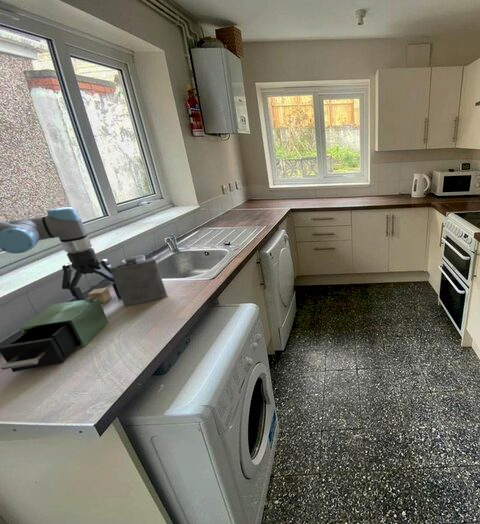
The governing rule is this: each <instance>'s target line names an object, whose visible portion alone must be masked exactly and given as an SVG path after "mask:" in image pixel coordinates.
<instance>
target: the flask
mask: <svg viewBox="0 0 480 524" xmlns="http://www.w3.org/2000/svg"><path fill="white" fill-rule="evenodd" d="M125 261H126V262H127V263H123V262H122V263H119V264H113V265H112V266H111V267H109V269H110V272H111V274H112V277H113V279H114V282H115V284H116V286H117V289H118V291H119V294H120V296H121V299H120V300H121V301H122V303H123V306H124V307H130V306H135V305H140V304H145V303H150V302H154V301H157V300H161V299H165V298H166V297H168V293H167V290H166V287H165V285H164V284H165V283H164V282H163V278H162V276H161V272H160V270H159V266H158V264H157V260H156V259H155V258H149V259H145V260H144V261H139V262H136V257H133V256H130V257H127V258H125Z"/></svg>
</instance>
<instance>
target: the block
mask: <svg viewBox="0 0 480 524" xmlns="http://www.w3.org/2000/svg"><path fill="white" fill-rule="evenodd" d="M87 296H88V299H94V298H98V299H99V302H100V304H106V303H107V302H108V301H110V299H111V298H112V295H111V292H110V290H109V288H108V287H101V288H95V289H93V290H91V291H90V292H89V293H87Z"/></svg>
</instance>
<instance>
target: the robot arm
mask: <svg viewBox="0 0 480 524" xmlns="http://www.w3.org/2000/svg"><path fill="white" fill-rule="evenodd" d="M46 214H47V215H44V216H40V217H32V218H23V219H13V220H10V221H0V250H1V251H4V253H9V254H17V255H18V254H23V253H27V252H29V251H30V250H32V249H33V248H35V247H36V245H37V244H38V243H39V242H40V241H43V240H44V241H45V240H47V239H48V240H49V239H55V238H58V239H59V241H60V243H61V246H62V247H63V250H64V252H65V253H66V256H67V258H68V260H69V262H67V263H65V264H63V265H62V267H61V268H62V271H63V273H62V274H63V275H62V281H61V282H62V283H61V289H62V290H69V292H70V293H71V295H72V297H73V298H75V299H76V301H80V300H86V298H85V296H84V295H83V292H82V290H81V288H80V286H77V285H78V283H79V282H80V279H81V278H82V276H83V275H88V274H94V273H95V275H99V276H101V277H102V278H105V280H108V281H109V282H111V283H112V284H111V285H112V288H113V290H114V293H115V295H116V297H117V300H122V299H121V296H120V294H119V291H118V289H117V286H116V284H115V282H114V279H113V277H112V274H111V272H110V269H109V267H111V266H113V265H112V264H111V262H110V261H109V259H108V258H103V259H102V260H98V258H97V254H96V252H95V249H94V248H93V247H92V246H93V245H92V243H91V241H90V238H89V236H88V233H87V230H86V228H85V226H84V224H83V223H84V222H83V221H82V218H81V217H80V215H79V213H78V211H77V209H76V208H75V207H72V206H65V207H64V206H63V207H56V208H52V209H48V210H47V211H46ZM73 269H74V270H75V273H74V276H73V278H72V272H73Z"/></svg>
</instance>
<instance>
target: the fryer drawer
mask: <svg viewBox="0 0 480 524" xmlns="http://www.w3.org/2000/svg"><path fill="white" fill-rule="evenodd" d="M79 343H80V342H79V341H78V339H77V337H76V335H75V333H74V331H73V329H72V327H71V325H70V323H65V324H58V325H51V326H45V327H38V328H32V329H28V330H27V331H25V332H24V333H21V334H20V335H18V336H17V337H15V338H14V339H13V340H12V341H10V342H9V344H5V345H1V346H0V354H1V356H2V357H3V359H4V361H5V362H4V363H2V364H1V365H0V370H2V371H4V370H11V371H12V373H16V372H22V371H27V370H32V369H33V370H34V369H38V368H45V367H50V366H55V365H62V364H65V362H66V359H65V358H66V357H67V356H68V355H70V353H71V352H72V351H73V350H75V349H76V348H75V347H76V346H77V345H78V344H79ZM74 348H75V349H74Z"/></svg>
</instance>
